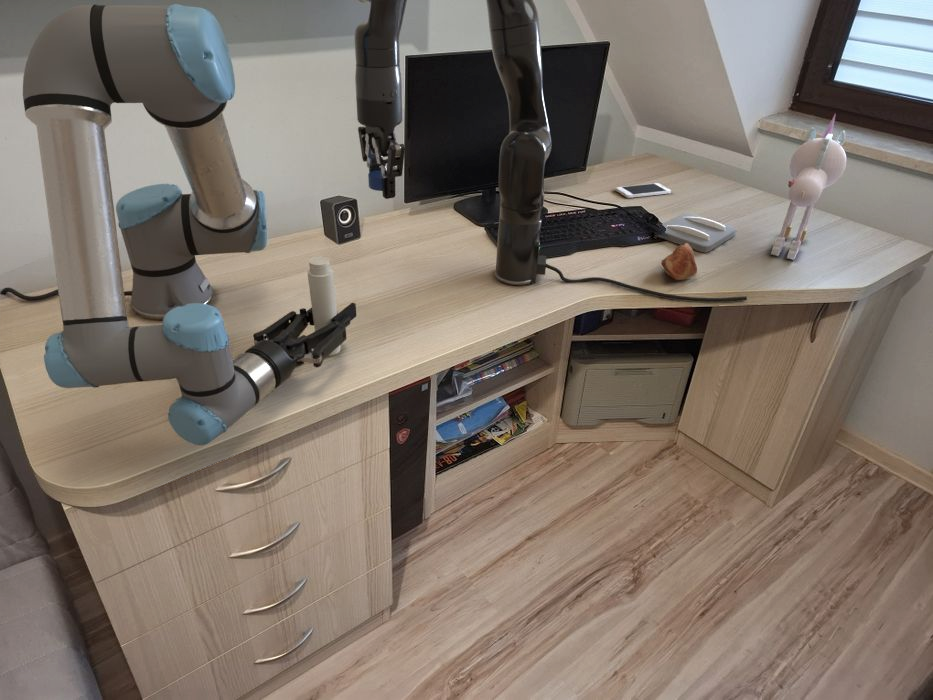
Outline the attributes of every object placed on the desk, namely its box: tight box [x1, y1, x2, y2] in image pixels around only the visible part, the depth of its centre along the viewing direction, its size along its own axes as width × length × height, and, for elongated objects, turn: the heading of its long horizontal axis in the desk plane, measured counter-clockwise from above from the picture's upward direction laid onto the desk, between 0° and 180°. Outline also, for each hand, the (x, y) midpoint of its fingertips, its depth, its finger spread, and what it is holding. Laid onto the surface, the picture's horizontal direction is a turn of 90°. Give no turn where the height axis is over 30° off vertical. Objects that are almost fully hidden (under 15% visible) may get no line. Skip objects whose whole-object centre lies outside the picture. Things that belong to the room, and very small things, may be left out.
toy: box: [770, 112, 847, 261], centre depth 159 cm, size 12×36×30 cm, turn 148°
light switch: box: [654, 212, 737, 253], centre depth 167 cm, size 18×3×15 cm
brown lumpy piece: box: [660, 243, 698, 281], centre depth 146 cm, size 13×8×10 cm
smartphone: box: [615, 182, 672, 199], centre depth 194 cm, size 7×16×1 cm, turn 111°
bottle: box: [307, 255, 342, 357], centre depth 113 cm, size 4×4×18 cm
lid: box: [367, 170, 383, 192], centre depth 114 cm, size 5×5×2 cm
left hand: (342, 306), depth 118 cm, fingers closed on bottle, 4 cm apart
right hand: (382, 192), depth 115 cm, fingers closed on lid, 4 cm apart
